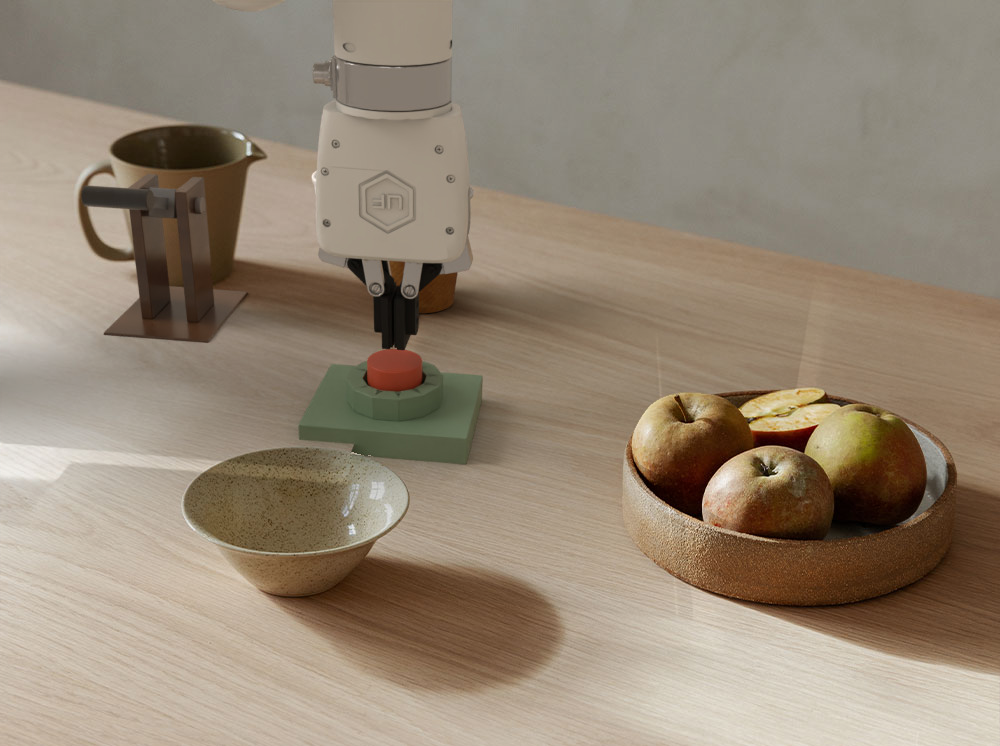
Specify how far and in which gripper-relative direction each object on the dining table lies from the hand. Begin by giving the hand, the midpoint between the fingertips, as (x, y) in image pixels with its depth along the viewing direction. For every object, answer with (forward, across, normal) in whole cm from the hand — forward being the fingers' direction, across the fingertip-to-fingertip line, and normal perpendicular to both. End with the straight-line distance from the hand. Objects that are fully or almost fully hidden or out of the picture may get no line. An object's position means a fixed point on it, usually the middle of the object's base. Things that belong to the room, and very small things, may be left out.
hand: (396, 341), depth 80 cm
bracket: (+7, -22, +15) cm, 28 cm away
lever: (-5, -22, +10) cm, 25 cm away
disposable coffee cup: (+7, -2, +24) cm, 25 cm away
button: (+3, 0, 0) cm, 3 cm away
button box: (+7, 0, 0) cm, 7 cm away
